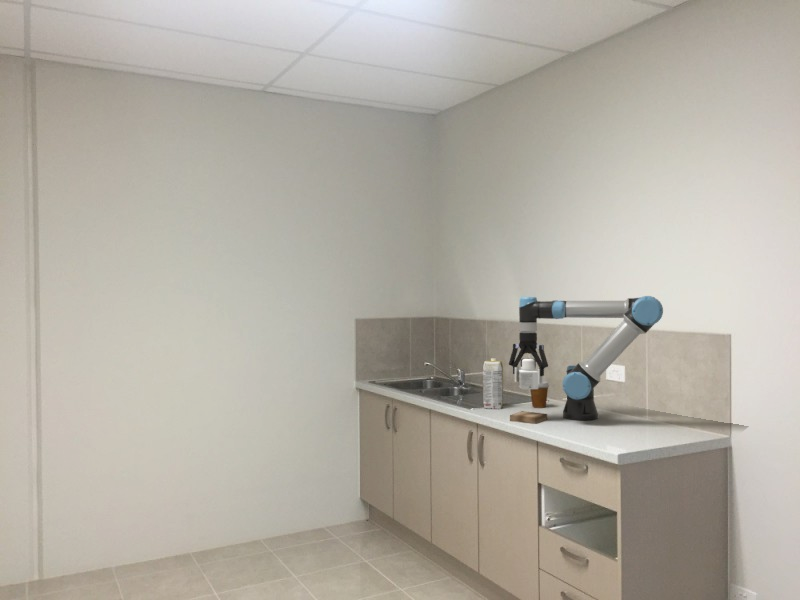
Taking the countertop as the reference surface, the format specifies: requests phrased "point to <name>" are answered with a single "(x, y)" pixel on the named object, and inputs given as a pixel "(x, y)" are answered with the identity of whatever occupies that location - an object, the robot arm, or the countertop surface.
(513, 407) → the countertop surface
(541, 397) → the disposable coffee cup
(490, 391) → the juice carton
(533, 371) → the container
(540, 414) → the stand
